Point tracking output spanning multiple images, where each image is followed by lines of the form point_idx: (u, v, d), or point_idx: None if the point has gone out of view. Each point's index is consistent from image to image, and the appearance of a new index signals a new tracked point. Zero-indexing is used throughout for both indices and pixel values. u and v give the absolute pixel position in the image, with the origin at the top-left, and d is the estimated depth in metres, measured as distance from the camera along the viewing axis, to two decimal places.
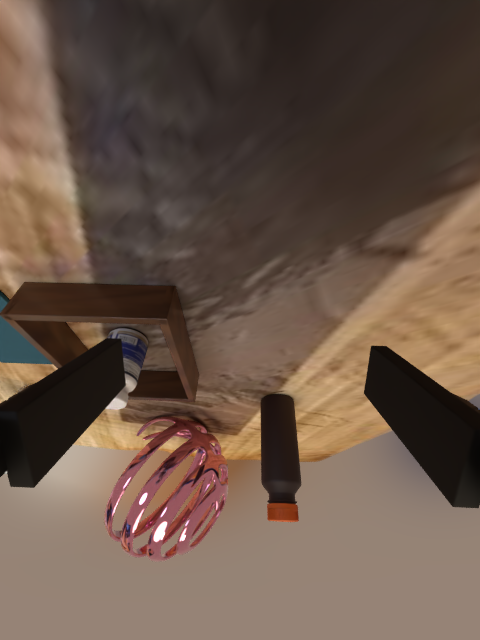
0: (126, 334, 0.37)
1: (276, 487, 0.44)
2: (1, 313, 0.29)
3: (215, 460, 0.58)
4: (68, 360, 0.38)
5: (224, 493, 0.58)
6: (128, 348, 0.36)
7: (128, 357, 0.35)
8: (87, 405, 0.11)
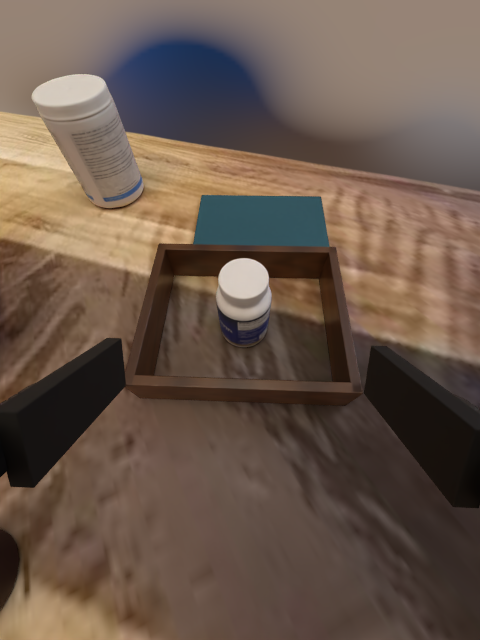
0: (266, 329, 0.32)
1: None
2: (335, 248, 0.33)
3: None
4: None
5: None
6: (264, 327, 0.30)
7: (263, 323, 0.28)
8: (87, 405, 0.11)
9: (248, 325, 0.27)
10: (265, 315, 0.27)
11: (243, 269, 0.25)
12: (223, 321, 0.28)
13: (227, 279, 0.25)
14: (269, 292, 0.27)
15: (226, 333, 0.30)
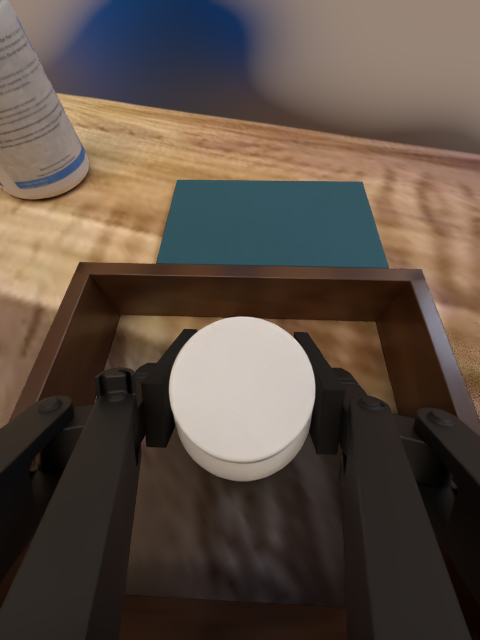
0: None
1: None
2: None
3: None
4: (235, 289, 0.18)
5: None
6: None
7: None
8: None
9: None
10: None
11: (240, 350, 0.09)
12: None
13: (195, 386, 0.08)
14: None
15: None
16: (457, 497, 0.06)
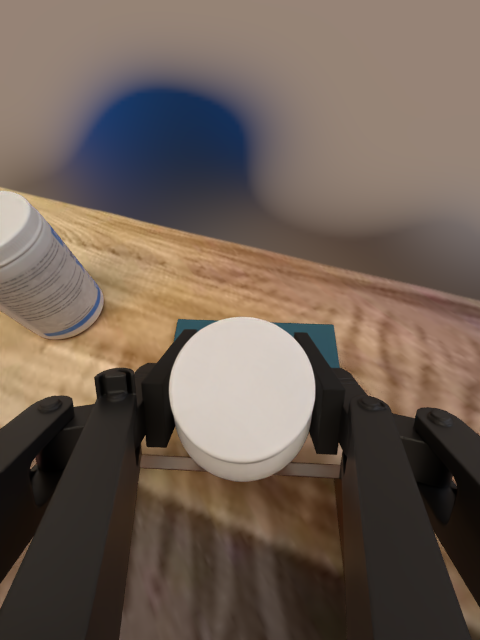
0: None
1: None
2: None
3: None
4: None
5: None
6: None
7: None
8: None
9: None
10: None
11: (240, 351, 0.09)
12: None
13: (195, 387, 0.08)
14: None
15: None
16: (457, 497, 0.06)
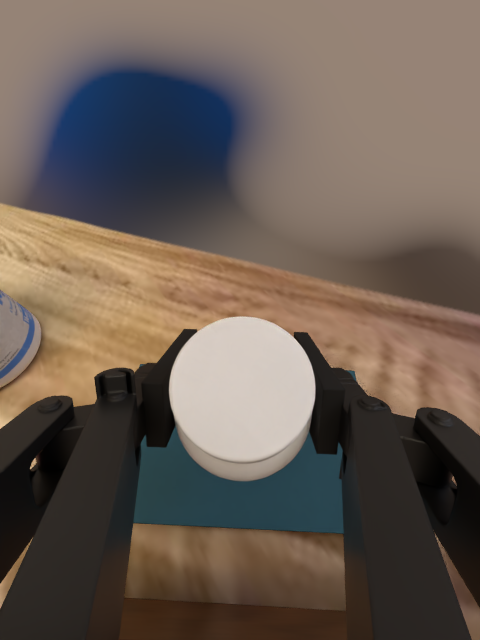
0: None
1: None
2: None
3: None
4: None
5: None
6: None
7: None
8: None
9: None
10: None
11: (240, 350, 0.09)
12: None
13: (195, 386, 0.08)
14: None
15: None
16: (457, 497, 0.06)
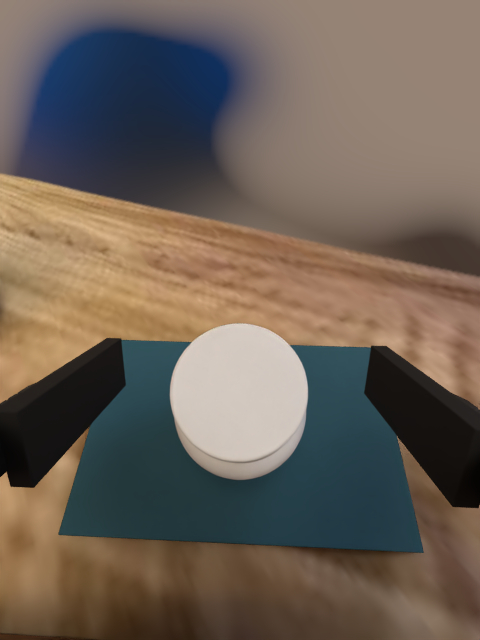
0: None
1: None
2: None
3: None
4: None
5: None
6: None
7: None
8: (88, 405, 0.11)
9: None
10: None
11: (237, 356, 0.09)
12: None
13: (194, 390, 0.09)
14: None
15: None
16: None
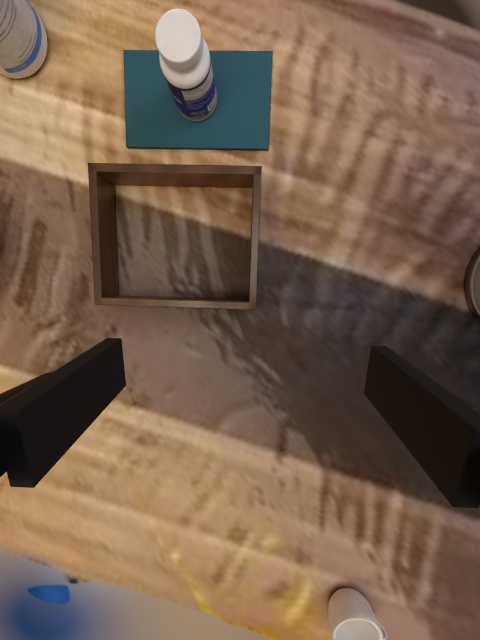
0: (215, 101, 0.35)
1: None
2: (261, 168, 0.34)
3: None
4: (171, 176, 0.35)
5: None
6: (210, 97, 0.34)
7: (207, 92, 0.32)
8: (87, 405, 0.11)
9: (192, 94, 0.31)
10: (206, 82, 0.31)
11: (177, 24, 0.27)
12: (171, 91, 0.32)
13: (163, 38, 0.27)
14: (206, 54, 0.29)
15: (178, 105, 0.35)
16: None
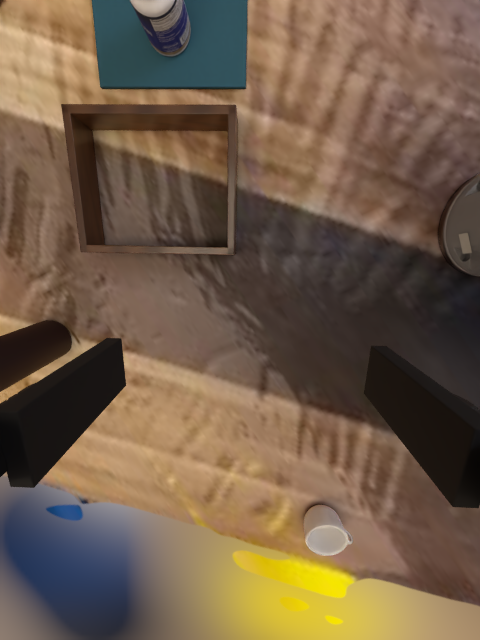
0: (188, 32, 0.34)
1: None
2: None
3: None
4: (146, 118, 0.35)
5: None
6: (182, 27, 0.32)
7: (177, 22, 0.31)
8: (87, 405, 0.11)
9: (161, 23, 0.30)
10: (175, 9, 0.30)
11: None
12: (140, 20, 0.31)
13: None
14: None
15: (149, 38, 0.33)
16: None
